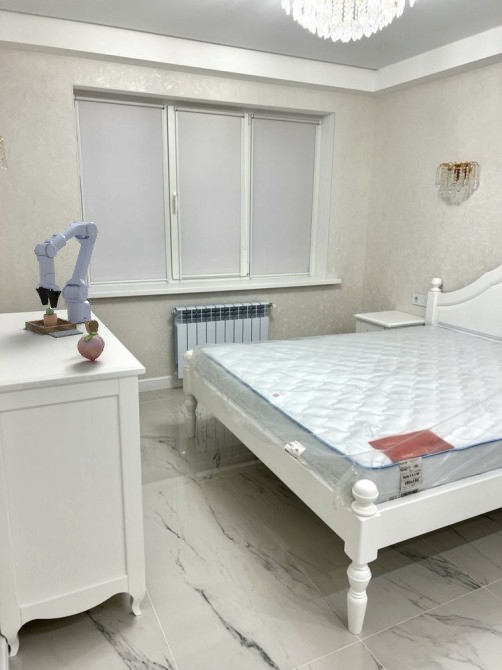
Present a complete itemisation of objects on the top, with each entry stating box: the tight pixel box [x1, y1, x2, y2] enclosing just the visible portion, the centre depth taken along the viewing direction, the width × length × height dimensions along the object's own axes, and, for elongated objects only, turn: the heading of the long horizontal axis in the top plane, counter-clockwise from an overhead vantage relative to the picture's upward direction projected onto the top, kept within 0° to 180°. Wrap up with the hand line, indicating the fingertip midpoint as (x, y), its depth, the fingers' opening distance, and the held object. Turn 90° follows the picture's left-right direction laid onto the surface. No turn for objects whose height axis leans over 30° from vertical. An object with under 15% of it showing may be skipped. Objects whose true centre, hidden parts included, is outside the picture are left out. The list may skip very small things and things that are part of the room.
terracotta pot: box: [42, 307, 59, 328], centre depth 205 cm, size 5×5×9 cm
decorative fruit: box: [76, 331, 106, 362], centre depth 162 cm, size 9×8×10 cm
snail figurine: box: [83, 317, 100, 334], centre depth 176 cm, size 5×6×12 cm
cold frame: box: [24, 316, 78, 335], centre depth 205 cm, size 14×16×2 cm
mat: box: [47, 329, 84, 339], centre depth 197 cm, size 11×7×1 cm, turn 137°
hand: (49, 306), depth 203 cm, fingers open, 7 cm apart
